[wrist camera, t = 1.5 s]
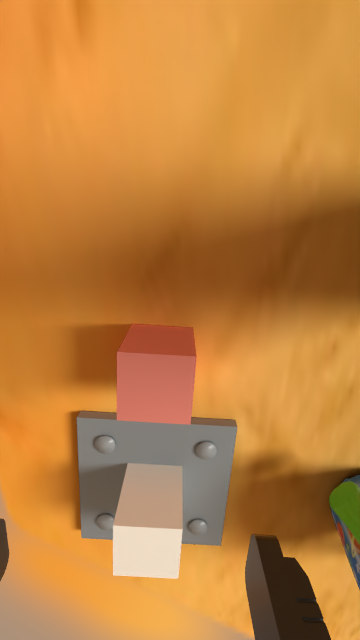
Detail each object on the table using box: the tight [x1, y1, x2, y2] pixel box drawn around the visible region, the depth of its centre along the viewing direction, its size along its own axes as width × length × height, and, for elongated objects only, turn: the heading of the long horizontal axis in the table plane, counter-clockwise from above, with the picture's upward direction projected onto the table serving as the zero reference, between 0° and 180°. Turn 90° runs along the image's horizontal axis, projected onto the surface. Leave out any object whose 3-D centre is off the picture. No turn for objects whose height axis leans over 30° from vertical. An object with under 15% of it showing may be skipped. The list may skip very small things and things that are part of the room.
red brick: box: [117, 324, 196, 425], centre depth 22 cm, size 5×5×6 cm
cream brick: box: [113, 463, 183, 579], centre depth 25 cm, size 5×5×6 cm
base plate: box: [77, 411, 237, 546], centre depth 28 cm, size 14×14×1 cm
